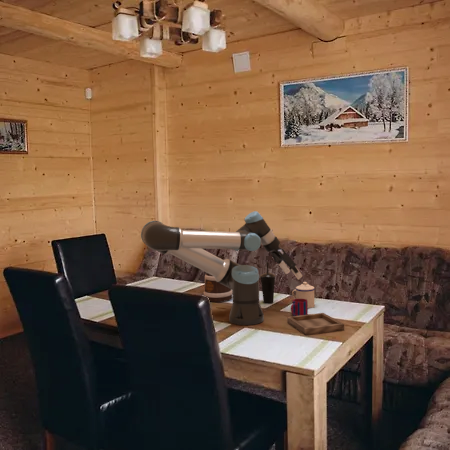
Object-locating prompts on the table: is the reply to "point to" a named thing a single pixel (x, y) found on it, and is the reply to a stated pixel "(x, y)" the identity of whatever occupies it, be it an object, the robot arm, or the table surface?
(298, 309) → the cup
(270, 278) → the drinking cup
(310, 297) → the teacup with lid
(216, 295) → the mug
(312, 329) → the walnut tray
